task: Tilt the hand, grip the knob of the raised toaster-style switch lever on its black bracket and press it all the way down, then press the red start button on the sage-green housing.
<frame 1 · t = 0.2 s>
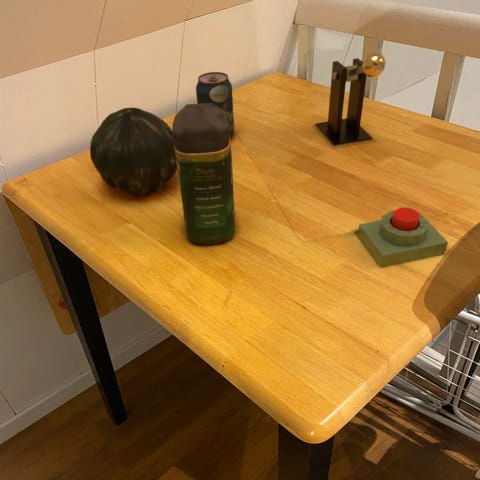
switch lever: (361, 69, 85), point 14 cm above the table, hinge at 25.0°
squash: (143, 184, 89), on the table
switch bracket: (342, 137, 98), on the table
soda can: (218, 139, 100), on the table
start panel: (399, 245, 72), on the table
coffee jar: (211, 229, 78), on the table
start button: (405, 219, 69), point 4 cm above the table, slide at 0.1 cm
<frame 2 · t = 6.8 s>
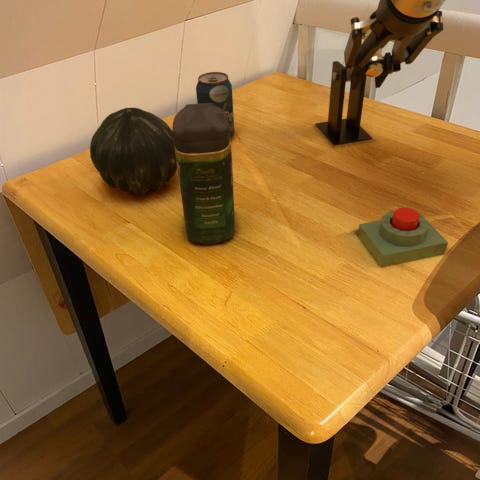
hand: (364, 81, 86), 12 cm above the table, tool tilted 45°, fingers closed on switch lever, 4 cm apart
switch lever: (361, 69, 85), point 14 cm above the table, hinge at 25.0°, touching gripper
everything else where it was.
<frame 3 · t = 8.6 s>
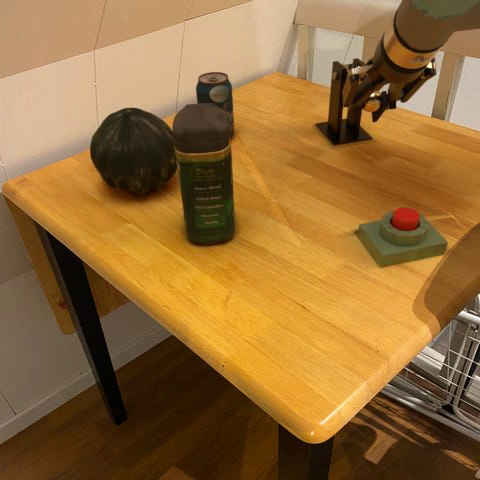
hand: (362, 115, 89), 7 cm above the table, tool tilted 45°, fingers closed on switch lever, 4 cm apart
switch lever: (360, 87, 86), point 11 cm above the table, hinge at -6.9°, touching gripper
everything else where it was.
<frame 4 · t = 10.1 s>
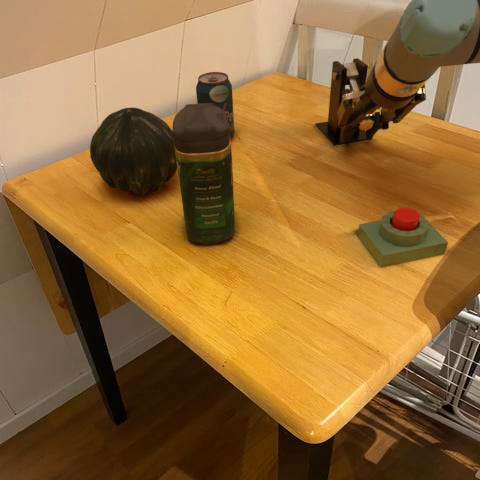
hand: (356, 133, 93), 3 cm above the table, tool tilted 45°, fingers closed on switch lever, 4 cm apart
switch lever: (357, 97, 88), point 9 cm above the table, hinge at -29.9°, touching gripper
everything else where it was.
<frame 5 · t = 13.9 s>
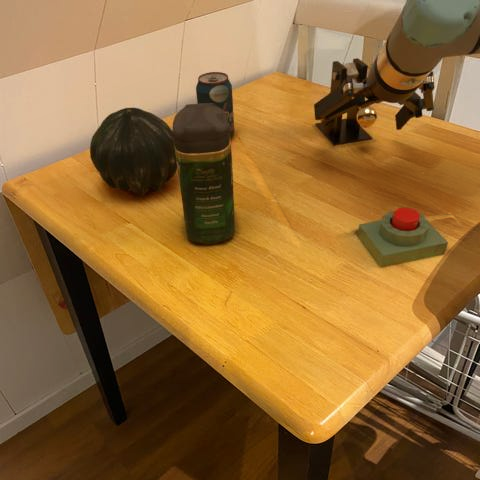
hand: (361, 125, 90), 5 cm above the table, tool tilted 45°, fingers open, 13 cm apart
switch lever: (358, 95, 88), point 10 cm above the table, hinge at -25.7°
everything else where it was.
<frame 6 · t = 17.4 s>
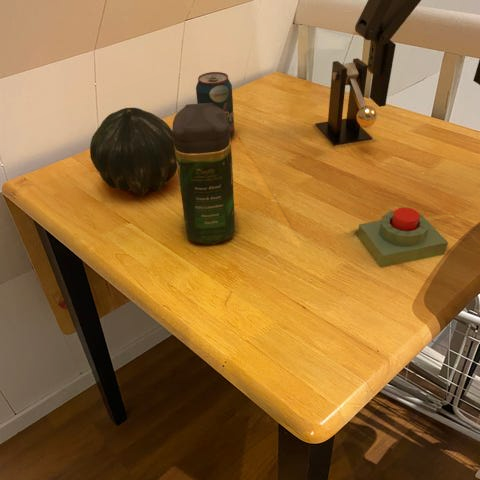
hand: (430, 93, 58), 21 cm above the table, tool pointing down, fingers open, 13 cm apart
nothing on the table moved.
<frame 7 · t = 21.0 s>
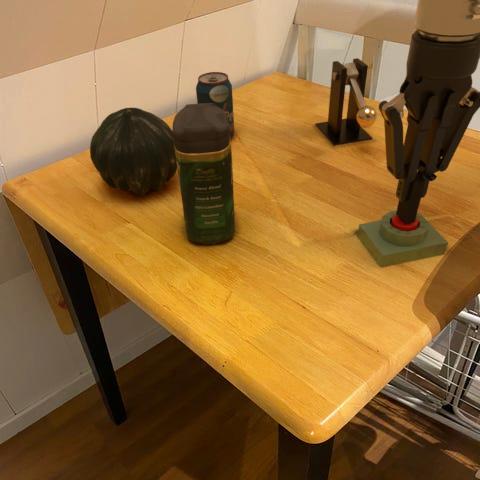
hand: (405, 217, 69), 5 cm above the table, tool pointing down, fingers closed
start button: (404, 224, 70), point 4 cm above the table, slide at -0.7 cm, touching gripper
everything else where it was.
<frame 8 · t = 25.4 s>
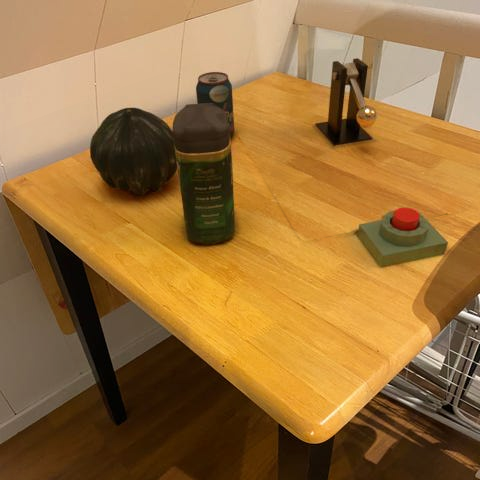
start button: (405, 219, 69), point 4 cm above the table, slide at 0.1 cm
everything else where it was.
at the end: switch lever at -26° (first picture: +25°); start button pushed in 1.0 cm at the most during the clip, back to where it started at the end; start button slide at 0.1 cm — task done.
